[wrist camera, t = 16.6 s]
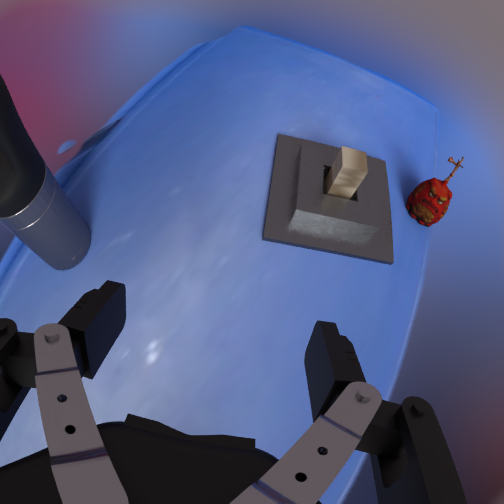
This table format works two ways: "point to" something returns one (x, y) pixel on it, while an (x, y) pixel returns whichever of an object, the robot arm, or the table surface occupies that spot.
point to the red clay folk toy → (431, 199)
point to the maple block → (346, 173)
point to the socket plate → (327, 204)
